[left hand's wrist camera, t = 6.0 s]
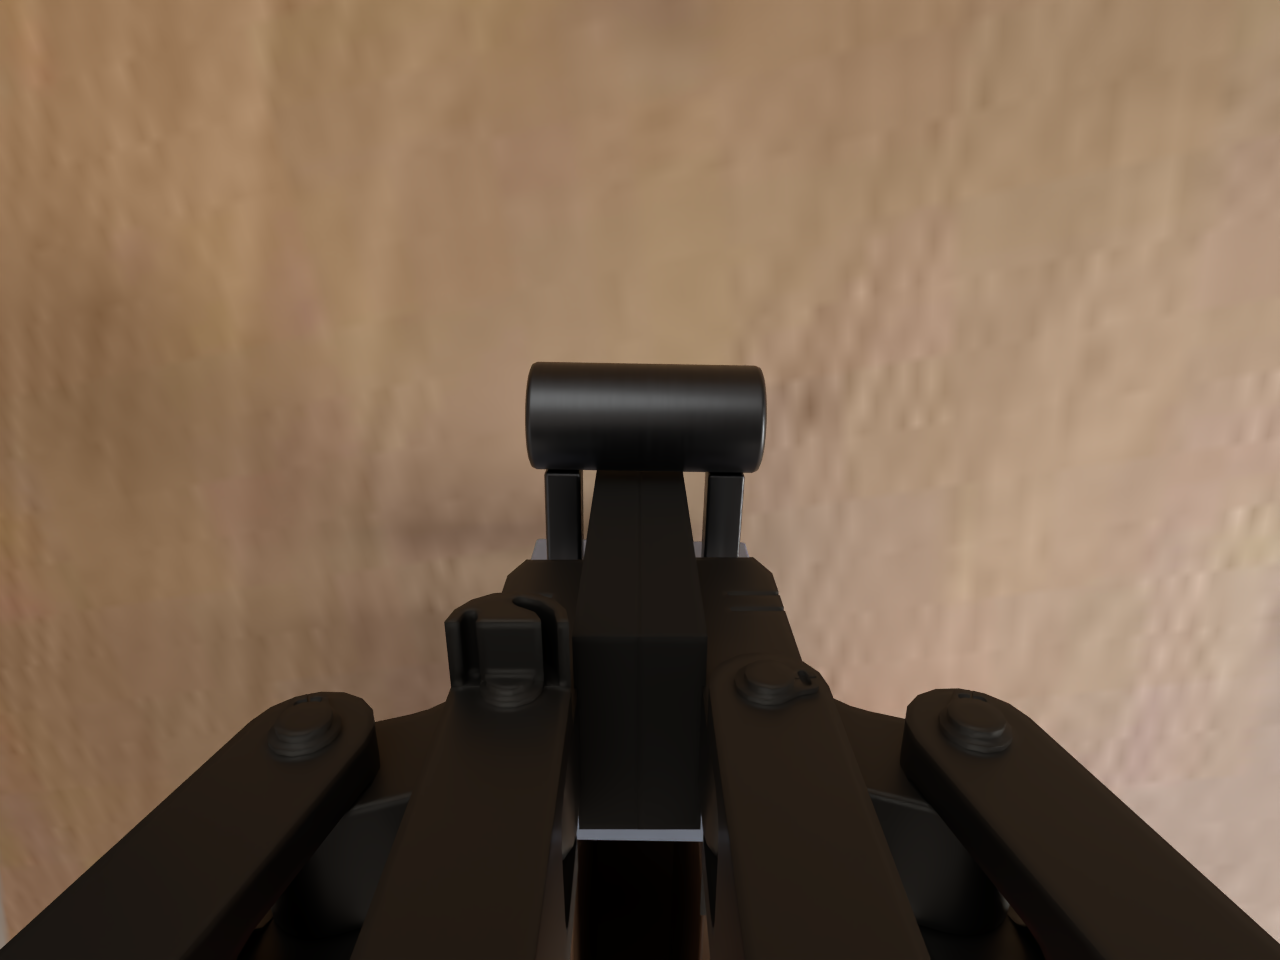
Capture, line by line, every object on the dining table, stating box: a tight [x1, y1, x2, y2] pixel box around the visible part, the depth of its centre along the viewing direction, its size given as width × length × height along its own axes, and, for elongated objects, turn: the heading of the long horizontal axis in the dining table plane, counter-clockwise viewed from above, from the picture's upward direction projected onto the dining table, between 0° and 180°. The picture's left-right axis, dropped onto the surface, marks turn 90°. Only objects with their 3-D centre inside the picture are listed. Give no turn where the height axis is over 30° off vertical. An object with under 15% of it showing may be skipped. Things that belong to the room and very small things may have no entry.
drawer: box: [525, 362, 767, 960], centre depth 17 cm, size 23×5×8 cm, turn 179°
